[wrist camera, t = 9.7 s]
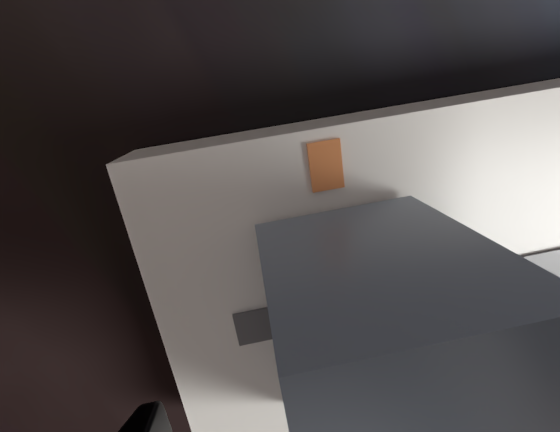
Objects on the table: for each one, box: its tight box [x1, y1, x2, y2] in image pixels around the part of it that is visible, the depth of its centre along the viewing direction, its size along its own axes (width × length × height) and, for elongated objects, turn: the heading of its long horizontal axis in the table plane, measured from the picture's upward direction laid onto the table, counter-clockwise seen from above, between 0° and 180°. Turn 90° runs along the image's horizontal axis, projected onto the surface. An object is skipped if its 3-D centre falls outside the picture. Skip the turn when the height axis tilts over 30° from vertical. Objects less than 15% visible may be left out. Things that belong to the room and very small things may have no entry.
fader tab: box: [255, 196, 560, 432], centre depth 7 cm, size 6×4×5 cm, turn 9°
